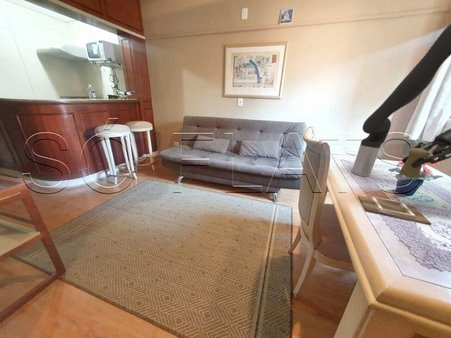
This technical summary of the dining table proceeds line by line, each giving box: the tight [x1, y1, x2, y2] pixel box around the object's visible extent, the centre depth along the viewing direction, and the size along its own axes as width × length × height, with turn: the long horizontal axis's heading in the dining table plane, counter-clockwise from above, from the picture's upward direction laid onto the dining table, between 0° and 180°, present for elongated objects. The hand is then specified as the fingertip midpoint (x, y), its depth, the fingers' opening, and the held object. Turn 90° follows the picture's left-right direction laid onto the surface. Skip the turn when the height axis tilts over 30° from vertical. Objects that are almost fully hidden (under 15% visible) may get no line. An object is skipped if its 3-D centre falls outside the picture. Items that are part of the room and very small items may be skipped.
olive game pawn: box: [398, 147, 428, 179], centre depth 73 cm, size 6×6×11 cm
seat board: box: [357, 195, 432, 226], centre depth 75 cm, size 12×20×2 cm, turn 68°
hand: (407, 163), depth 74 cm, fingers closed on olive game pawn, 4 cm apart
